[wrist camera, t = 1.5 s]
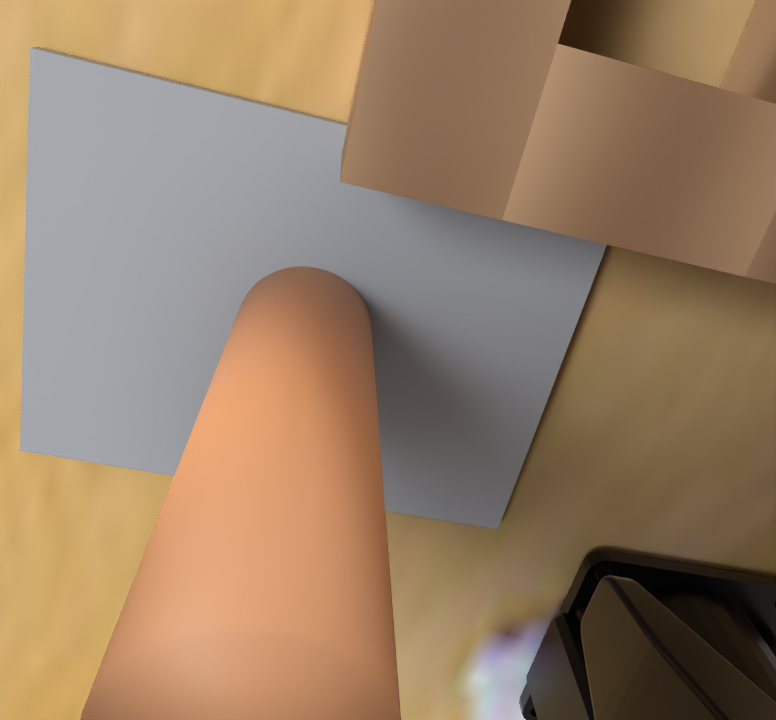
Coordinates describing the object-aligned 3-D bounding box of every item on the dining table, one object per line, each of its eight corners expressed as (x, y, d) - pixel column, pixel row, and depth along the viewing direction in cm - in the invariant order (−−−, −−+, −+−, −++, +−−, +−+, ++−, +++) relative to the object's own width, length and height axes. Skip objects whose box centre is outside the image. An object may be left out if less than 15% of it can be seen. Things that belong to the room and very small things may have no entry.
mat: (619, 190, 15) (626, 194, 15) (494, 519, 19) (497, 529, 18) (38, 47, 13) (29, 47, 13) (26, 441, 17) (20, 450, 17)
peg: (385, 282, 15) (437, 653, 6) (355, 400, 16) (363, 853, 7) (248, 253, 15) (89, 604, 6) (227, 376, 16) (71, 826, 7)
